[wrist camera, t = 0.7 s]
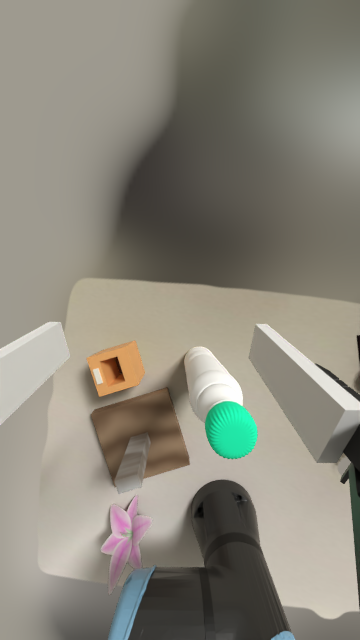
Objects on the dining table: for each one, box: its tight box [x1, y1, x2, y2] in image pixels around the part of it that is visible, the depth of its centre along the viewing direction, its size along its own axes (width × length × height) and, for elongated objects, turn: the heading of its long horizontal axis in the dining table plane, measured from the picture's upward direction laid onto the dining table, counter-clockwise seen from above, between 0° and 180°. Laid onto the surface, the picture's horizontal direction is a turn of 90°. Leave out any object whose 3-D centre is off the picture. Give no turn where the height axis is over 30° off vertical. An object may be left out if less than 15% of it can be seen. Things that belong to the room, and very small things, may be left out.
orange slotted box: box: [87, 341, 145, 397], centre depth 36 cm, size 8×8×7 cm
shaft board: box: [91, 387, 190, 494], centre depth 34 cm, size 18×18×12 cm
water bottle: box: [184, 347, 258, 459], centre depth 27 cm, size 7×7×25 cm
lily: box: [101, 495, 153, 595], centre depth 38 cm, size 12×12×10 cm
